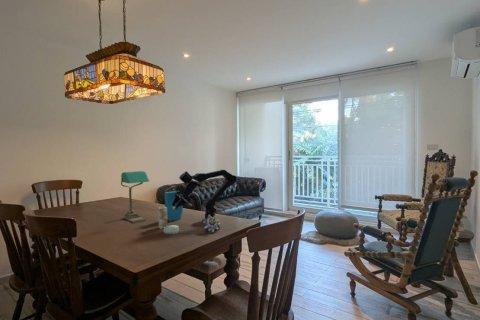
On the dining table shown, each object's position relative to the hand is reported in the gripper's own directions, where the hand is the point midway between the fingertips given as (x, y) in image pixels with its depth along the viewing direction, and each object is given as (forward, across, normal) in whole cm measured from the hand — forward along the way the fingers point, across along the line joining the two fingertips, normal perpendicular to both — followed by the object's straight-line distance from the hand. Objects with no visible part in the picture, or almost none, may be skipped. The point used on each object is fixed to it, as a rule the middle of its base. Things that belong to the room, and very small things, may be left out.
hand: (174, 206), depth 179 cm
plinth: (+13, +12, +6) cm, 19 cm away
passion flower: (-3, +22, +22) cm, 31 cm away
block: (+6, -16, +12) cm, 22 cm away
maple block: (+15, 0, +4) cm, 15 cm away
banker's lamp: (+24, -31, -5) cm, 40 cm away
